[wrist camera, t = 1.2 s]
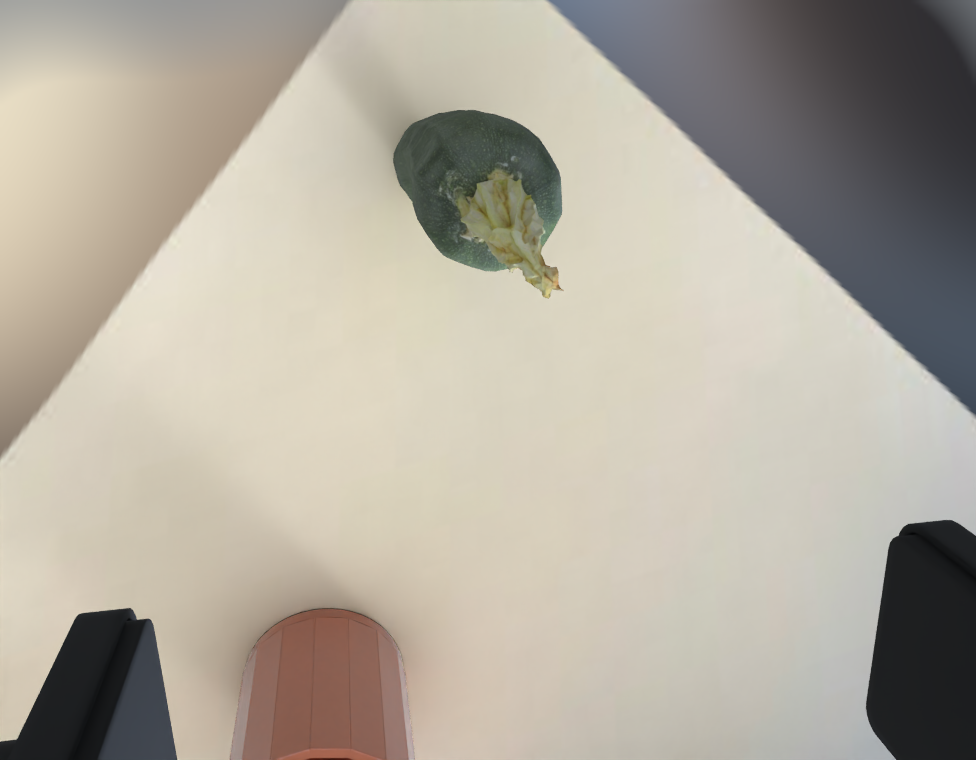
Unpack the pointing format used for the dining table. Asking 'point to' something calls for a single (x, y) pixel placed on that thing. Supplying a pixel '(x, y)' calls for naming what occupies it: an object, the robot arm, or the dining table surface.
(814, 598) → the dining table surface
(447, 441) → the dining table surface
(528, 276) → the vegetable
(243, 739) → the cup
